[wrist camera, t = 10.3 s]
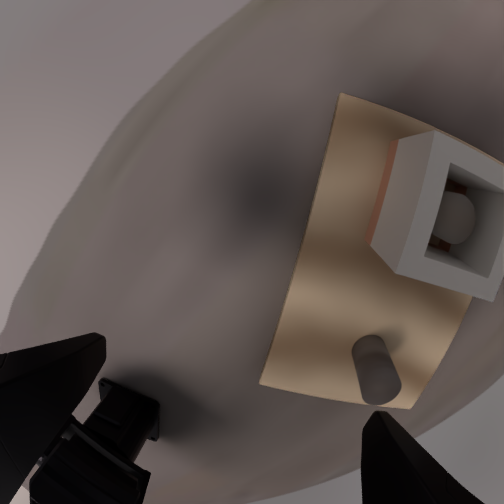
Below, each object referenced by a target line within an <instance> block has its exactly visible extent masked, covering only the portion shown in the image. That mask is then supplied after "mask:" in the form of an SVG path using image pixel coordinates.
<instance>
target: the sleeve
mask: <svg viewBox="0 0 504 504" xmlns="http://www.w3.org/2000/svg"><path fill="white" fill-rule="evenodd" d="M446 181H447V182H449V183H451V184H453V185H456V186H455V190H454V193H458V194H462V195H464V196H466V197H467V198H468V199H469V200H470V201H471V202H472V204H473V206H474V209H475V214H476V221H475V226H474V229H473V231H472V233H471V235H470V236H469V237H468V238H467V239H466V240H465V241H464V242H462V243H459V244H451V243H448V242H446V241H444V240H442V239H440V242H439V245H438V246H436V245H433V244H431V243H428V242H429V239H430V236H431V233H432V230H433V227H434V223H435V220H436V217H437V213H438V210H439V206H440V203H441V199H442V195H443V191H444V187H445V183H446ZM364 240H365V241H366V242H367V243H368V244H369V245H370V246H371V247H372V248H373V249H374V251H375V252H376V253H377V254H378V255H379V256H380V257H381V258H382V259H383V260H384V261H385V263H386V264H387V265H388V266H389V267H390V268H391V269H392V270H393V271H394V273H396V274H399V275H403V276H406V277H409V278H413V279H416V280H420V281H423V282H427V283H430V284H433V285H437V286H440V287H444V288H447V289H450V290H454V291H457V292H460V293H464V294H467V295H470V296H474V297H477V298H480V299H484V300H487V301H490V302H493V301H494V299H495V297H496V294H497V292H498V289H499V287H500V284H501V282H502V279H503V276H504V167H503V166H502V165H500V164H498V163H497V162H495V161H493V160H492V159H490V158H488V157H486V156H485V155H483V154H481V153H479V152H478V151H476V150H474V149H472V148H470V147H468V146H466V145H464V144H463V143H461V142H459V141H457V140H455V139H453V138H451V137H449V136H446V135H444V134H442V133H440V132H438V131H436V130H433V131H429V132H425V133H421V134H417V135H413V136H409V137H405V138H402V139H398V140H394V141H391V142H390V147H389V151H388V155H387V159H386V164H385V168H384V172H383V176H382V179H381V183H380V187H379V191H378V194H377V198H376V202H375V205H374V209H373V212H372V216H371V219H370V222H369V226H368V229H367V232H366V235H365V238H364Z"/></svg>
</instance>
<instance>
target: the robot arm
mask: <svg viewBox="0 0 504 504" xmlns="http://www.w3.org/2000/svg"><path fill="white" fill-rule="evenodd" d="M105 360H106V338H105V337H104V336H103V335H100V334H98V333H95V332H93V333H89V334H85V335H81V336H77V337H73V338H69V339H65V340H61V341H57V342H52V343H48V344H44V345H40V346H35V347H31V348H27V349H22V350H18V351H13V352H9V353H8V354H7V353H4V354H0V504H9V503H10V502H11V500H12V499H13V497H14V495H15V494H16V492H17V491H18V489H19V488H20V486H21V485H22V483H23V482H24V480H25V479H26V477H27V476H28V474H29V473H30V471H31V470H32V468H33V467H34V465H35V464H37V465H38V466H39V468H38V470H37V471H36V472H35V474H34V475H33V476H32V478H31V479H30V482H29V490H30V504H142V503H143V500H144V496H145V493H146V489H147V486H148V482H149V479H150V475H151V473H150V472H149V471H147V470H144V469H142V468H141V467H139V466H138V465H136V464H135V463H134V461H135V460H136V458H137V456H138V454H139V452H140V450H141V449H142V447H143V445H144V443H145V441H146V439H149V440H152V441H157V440H158V438H159V413H160V404H159V403H158V402H157V401H155V400H152V399H149V398H147V397H144V396H142V395H139V394H137V393H135V392H132V391H130V390H128V389H125V388H123V387H121V386H118V385H116V384H114V383H112V382H110V381H107V380H105V379H103V378H102V379H100V380H99V382H98V384H99V392H100V399H101V402H100V403H99V404H98V405H97V407H96V408H95V409H94V411H93V412H92V413H91V414H90V416H89V417H88V418H87V420H86V421H85V422H84V423H83V425H82V424H81V423H80V422H79V421H78V420H76V419H75V417H74V416H73V415H72V412H73V411H74V410H75V408H76V407H77V406H78V404H79V403H80V402H81V400H82V399H83V398H84V396H85V395H86V393H87V392H88V390H89V388H90V386H91V385H92V383H93V381H94V380H95V378H96V376H97V374H98V373H99V371H100V369H101V368H102V366H103V364H104V363H105ZM62 437H64V438H62ZM361 482H362V504H484V503H483V502H482V501H480V500H479V499H478V498H477V497H475V496H474V495H473V494H471V493H470V492H469V491H468V490H467V489H465V488H464V487H463V486H462V485H461V484H460V483H458V481H457V480H455V479H454V478H453V477H452V476H451V475H450V474H449V473H447V471H446V470H445V469H444V468H443V467H442V466H441V465H440V464H439V463H438V462H437V461H436V460H435V459H434V458H433V457H432V456H431V455H430V454H429V453H428V452H427V451H426V450H425V449H424V448H423V447H422V446H421V445H420V444H419V443H418V442H417V441H416V440H415V439H414V438H413V437H412V436H411V435H410V434H409V433H408V432H407V431H406V430H405V429H404V428H403V427H402V426H401V425H400V424H399V423H398V422H397V421H396V420H395V419H394V418H393V417H392V416H391V415H390V414H389V413H388V412H386V411H375V412H374V413H373V414H372V415H371V417H370V418H369V420H368V421H367V423H366V424H365V426H364V428H363V431H362V453H361Z"/></svg>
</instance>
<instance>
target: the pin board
mask: <svg viewBox="0 0 504 504" xmlns="http://www.w3.org/2000/svg"><path fill="white" fill-rule="evenodd" d="M433 130H436V131H438V132H440V133H442V134H444V135H446V136H449V137H451V138H453V139H455V140H457V141H459V142H461V143H463V144H464V145H466V146H468V147H470V148H472V149H474V150H476V151H478V152H479V153H481V154H483V155H485V156H486V157H488V158H490V159H492V160H493V161H495V162H497V163H498V164H500V165H502V166H503V167H504V164H503V163H502V162H500V161H498V160H497V159H495V158H493V157H491V156H490V155H488V154H486V153H484V152H483V151H481V150H479V149H477V148H475V147H474V146H472V145H470V144H468V143H466V142H464V141H462V140H460V139H458V138H456V137H454V136H452V135H450V134H448V133H446V132H444V131H442V130H440V129H437V128H435V127H433V126H431V125H428V124H426V123H424V122H422V121H419V120H417V119H414V118H412V117H410V116H407V115H405V114H402V113H400V112H397V111H394V110H392V109H389V108H386V107H383V106H381V105H378V104H375V103H372V102H369V101H366V100H363V99H360V98H357V97H354V96H350V95H347V94H344V93H340V94H339V96H338V98H337V102H336V107H335V111H334V116H333V120H332V125H331V129H330V133H329V137H328V142H327V146H326V150H325V154H324V158H323V162H322V166H321V170H320V174H319V178H318V182H317V186H316V190H315V194H314V198H313V201H312V205H311V209H310V213H309V217H308V220H307V224H306V228H305V231H304V235H303V238H302V242H301V246H300V249H299V253H298V256H297V260H296V263H295V267H294V270H293V273H292V277H291V280H290V284H289V287H288V290H287V294H286V297H285V300H284V304H283V307H282V310H281V313H280V317H279V320H278V323H277V326H276V329H275V332H274V336H273V339H272V342H271V345H270V348H269V351H268V354H267V357H266V360H265V363H264V366H263V369H262V372H261V376H260V381H259V384H260V385H264V386H269V387H273V388H277V389H282V390H286V391H291V392H295V393H300V394H305V395H310V396H316V397H321V398H327V399H332V400H338V401H345V402H351V403H358V404H366V405H374V406H382V407H392V408H402V409H411V408H412V407H413V405H414V404H415V402H416V401H417V399H418V398H419V396H420V395H421V393H422V392H423V390H424V388H425V387H426V385H427V384H428V382H429V381H430V379H431V377H432V376H433V374H434V372H435V371H436V369H437V367H438V365H439V364H440V362H441V360H442V358H443V357H444V355H445V353H446V351H447V349H448V347H449V346H450V344H451V342H452V340H453V338H454V336H455V334H456V332H457V330H458V328H459V326H460V324H461V322H462V320H463V318H464V315H465V313H466V311H467V309H468V307H469V304H470V302H471V300H472V297H473V296H470V295H467V294H464V293H460V292H457V291H454V290H450V289H447V288H444V287H440V286H437V285H433V284H430V283H427V282H423V281H420V280H416V279H413V278H409V277H406V276H403V275H399V274H396V273H394V271H393V270H392V269H391V268H390V267H389V266H388V265H387V264H386V263H385V261H384V260H383V259H382V258H381V257H380V256H379V255H378V254H377V253H376V252H375V251H374V249H373V248H372V247H371V246H370V245H369V244H368V243H367V242H366V241H365V240H364V238H365V235H366V232H367V229H368V226H369V222H370V219H371V216H372V212H373V209H374V205H375V202H376V198H377V194H378V191H379V187H380V183H381V179H382V176H383V172H384V168H385V164H386V159H387V155H388V151H389V147H390V142H391V141H394V140H398V139H402V138H405V137H409V136H413V135H417V134H421V133H425V132H429V131H433ZM455 186H456V185H453V184H451V183H449V182H447V181H446V183H445V187H444V191H443V195H442V199H441V203H440V206H439V210H438V213H437V217H436V220H435V223H434V227H433V230H432V233H431V236H430V239H429V242H428V243H431V244H433V245H436V246H438V245H439V242H440V239H442V240H444V241H446V242H448V243H451V244H459V243H462V242H464V241H465V240H466V239H467V238H468V237H469V236H470V235H471V233H472V231H473V229H474V226H475V221H476V214H475V209H474V206H473V204H472V202H471V201H470V200H469V199H468V198H467V197H466V196H464V195H462V194H458V193H454V190H455Z"/></svg>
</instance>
